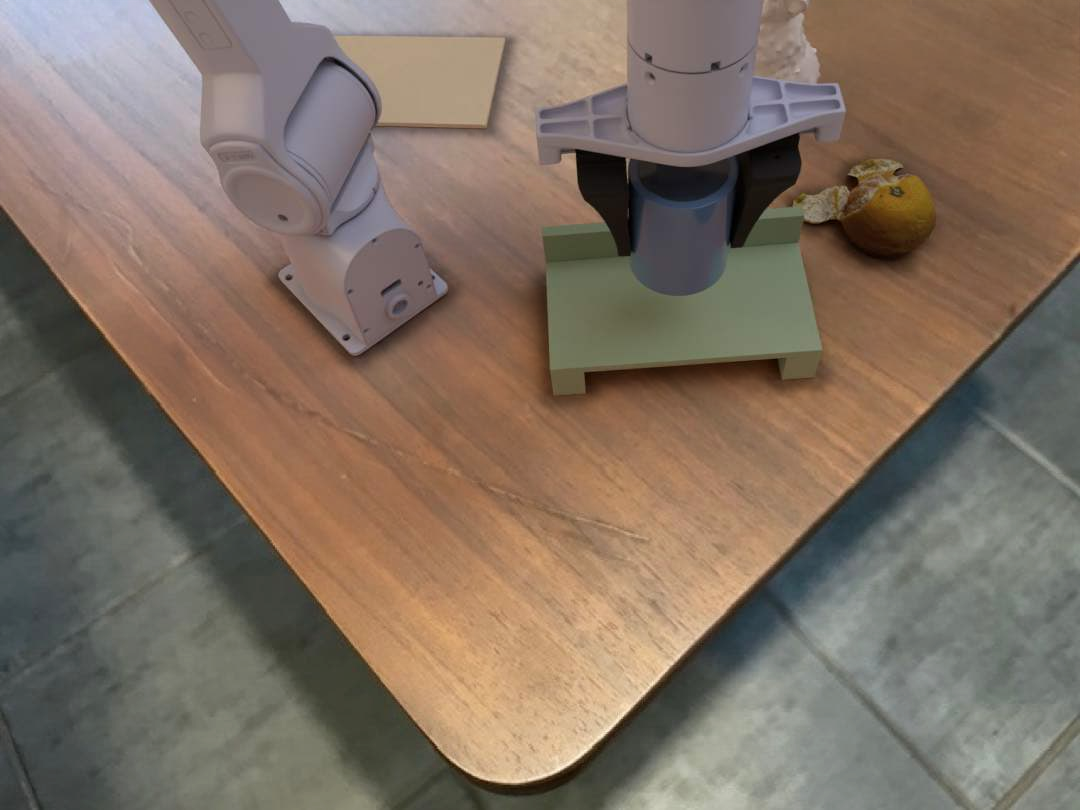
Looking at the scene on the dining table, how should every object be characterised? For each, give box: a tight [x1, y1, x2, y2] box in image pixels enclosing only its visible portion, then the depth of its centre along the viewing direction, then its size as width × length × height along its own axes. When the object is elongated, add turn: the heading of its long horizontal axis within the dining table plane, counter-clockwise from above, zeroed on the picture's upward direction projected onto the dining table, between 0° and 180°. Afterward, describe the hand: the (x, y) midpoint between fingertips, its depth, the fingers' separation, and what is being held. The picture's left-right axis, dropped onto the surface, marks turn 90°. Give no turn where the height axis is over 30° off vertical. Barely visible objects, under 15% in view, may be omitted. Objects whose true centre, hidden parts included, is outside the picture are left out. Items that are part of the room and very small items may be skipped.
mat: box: [332, 34, 507, 129], centre depth 76 cm, size 18×10×1 cm, turn 83°
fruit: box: [791, 158, 937, 259], centre depth 63 cm, size 8×8×4 cm
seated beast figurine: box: [754, 0, 822, 84], centre depth 67 cm, size 10×9×12 cm
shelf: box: [541, 206, 823, 397], centre depth 59 cm, size 9×16×6 cm, turn 92°
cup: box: [627, 155, 739, 296], centre depth 52 cm, size 6×6×7 cm
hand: (679, 238), depth 53 cm, fingers closed on cup, 5 cm apart
